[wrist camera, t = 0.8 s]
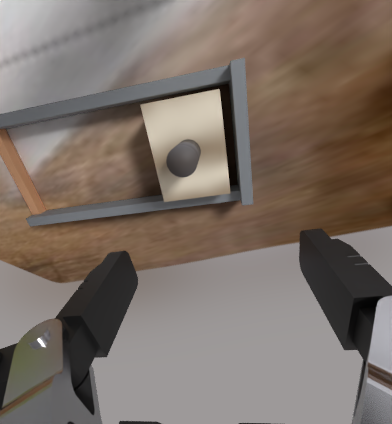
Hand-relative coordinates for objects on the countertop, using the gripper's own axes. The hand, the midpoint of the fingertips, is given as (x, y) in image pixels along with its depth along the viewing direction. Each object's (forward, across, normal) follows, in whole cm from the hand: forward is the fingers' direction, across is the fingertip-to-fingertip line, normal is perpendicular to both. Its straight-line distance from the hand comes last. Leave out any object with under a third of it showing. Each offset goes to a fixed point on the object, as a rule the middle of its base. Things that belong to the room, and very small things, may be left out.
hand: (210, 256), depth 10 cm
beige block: (+24, +3, -2) cm, 25 cm away
